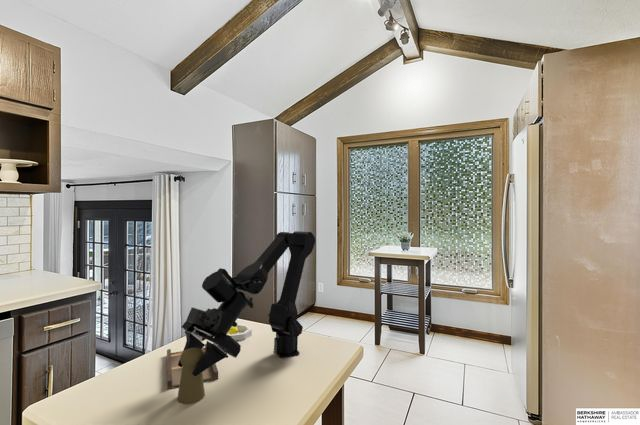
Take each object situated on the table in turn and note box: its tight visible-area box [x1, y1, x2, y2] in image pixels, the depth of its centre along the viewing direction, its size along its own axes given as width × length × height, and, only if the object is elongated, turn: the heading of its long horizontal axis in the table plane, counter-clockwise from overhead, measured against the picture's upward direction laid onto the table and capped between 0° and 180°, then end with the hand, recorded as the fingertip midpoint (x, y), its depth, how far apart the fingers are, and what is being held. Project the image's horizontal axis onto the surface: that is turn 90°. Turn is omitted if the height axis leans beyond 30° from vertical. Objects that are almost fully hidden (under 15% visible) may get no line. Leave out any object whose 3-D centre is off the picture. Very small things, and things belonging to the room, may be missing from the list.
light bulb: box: [227, 326, 238, 334], centre depth 113 cm, size 3×6×4 cm, turn 116°
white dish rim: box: [227, 323, 253, 342], centre depth 114 cm, size 12×12×2 cm
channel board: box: [166, 343, 219, 390], centre depth 89 cm, size 12×21×2 cm, turn 26°
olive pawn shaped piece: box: [176, 348, 206, 405], centre depth 74 cm, size 6×6×11 cm
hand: (186, 370), depth 73 cm, fingers open, 6 cm apart
